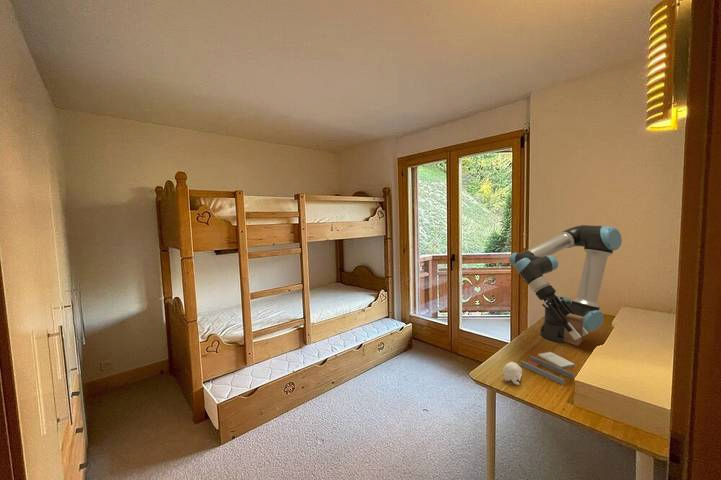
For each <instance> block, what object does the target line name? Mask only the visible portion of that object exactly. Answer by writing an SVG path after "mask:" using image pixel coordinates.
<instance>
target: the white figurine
mask: <svg viewBox="0 0 721 480" xmlns="http://www.w3.org/2000/svg"><path fill="white" fill-rule="evenodd" d="M502 373H503V375H504V377H503V379H504V381H506V382H510V381H511V382H512V383H513V384H514V385H516V386H520V382H521V379H522V376H523V375H524V374H523V369H522V366H521V365H520V364H518V363H517V362H514V361H509V362H507V363H506V364H505V365H504V367H503V368H502ZM517 380H518V381H517Z"/></svg>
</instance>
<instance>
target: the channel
mask: <svg viewBox="0 0 721 480" xmlns="http://www.w3.org/2000/svg"><path fill="white" fill-rule="evenodd" d="M529 357H530V359H529V361H533V362H535V363H537V364H539V366H542V367H544V368H546V369H548V370H551V371H553V372H556V373H558V374H560V375H563V376H564V377H567V378H570V379H574V378H575V373H574V372H571V371H568V370H566V369H565V368H564V369H562V368H559V367H557V366H555V365H554V364H552V363H550V362H548V361H546V360H543V359H541V358H538V357H535V356H532V355H531V356H529ZM527 362H528V361H525V360H520V364H519V366H520V367H524V368H525V369H528V370H530V371H532V372H534V373H536V374H539V375H540V376H543V377H545V378H547V379H549V380H551V381H554V382H556V383H558V384H560V385H565V383H566V379H565V378H562V377H560V376H558V375H555V374H554V373H551V372H549V371H547V370H544V369H542V368H540V367H539V366H537V367H536V366H533V365H531V364H529V363H527Z"/></svg>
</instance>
